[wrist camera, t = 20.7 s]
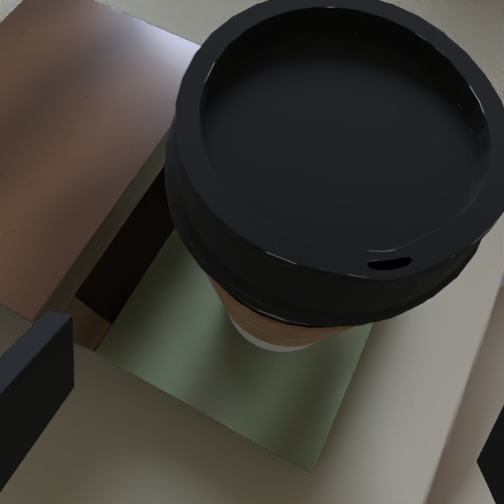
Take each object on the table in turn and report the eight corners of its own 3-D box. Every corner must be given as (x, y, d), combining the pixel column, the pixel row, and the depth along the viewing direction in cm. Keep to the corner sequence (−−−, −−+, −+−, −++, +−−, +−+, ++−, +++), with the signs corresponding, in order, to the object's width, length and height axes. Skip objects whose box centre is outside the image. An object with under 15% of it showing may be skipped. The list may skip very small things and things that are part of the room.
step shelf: (394, 248, 28) (475, 159, 18) (303, 467, 23) (347, 498, 14) (102, 113, 31) (43, -22, 21) (-32, 281, 26) (-183, 202, 17)
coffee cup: (210, 390, 21) (157, 327, 7) (194, 232, 24) (135, -25, 10) (377, 366, 22) (620, 266, 8) (341, 216, 25) (473, -47, 11)
